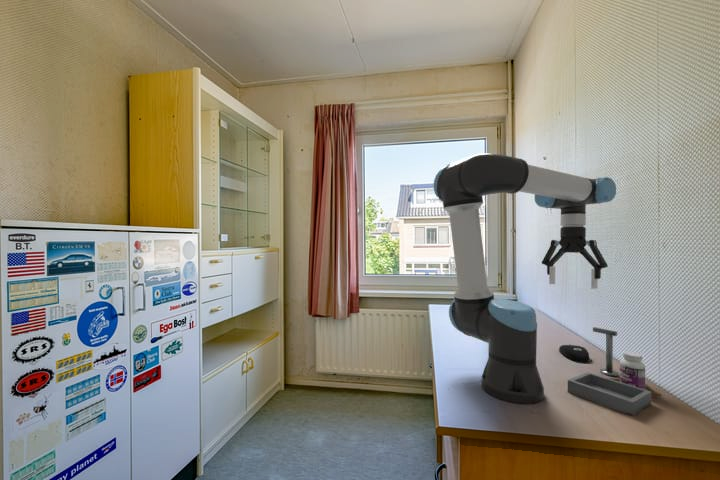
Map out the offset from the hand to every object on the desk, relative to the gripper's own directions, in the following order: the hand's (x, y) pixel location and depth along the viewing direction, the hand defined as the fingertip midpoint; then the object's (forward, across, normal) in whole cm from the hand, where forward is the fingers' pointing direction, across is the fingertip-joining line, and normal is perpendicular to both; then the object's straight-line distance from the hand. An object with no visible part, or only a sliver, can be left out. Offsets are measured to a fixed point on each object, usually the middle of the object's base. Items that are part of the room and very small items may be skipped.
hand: (572, 286), depth 114 cm
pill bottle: (+25, -21, +14) cm, 36 cm away
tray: (+25, -20, +26) cm, 41 cm away
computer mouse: (+25, -1, 0) cm, 25 cm away
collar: (+25, -21, +14) cm, 36 cm away
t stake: (+25, -14, +7) cm, 29 cm away
